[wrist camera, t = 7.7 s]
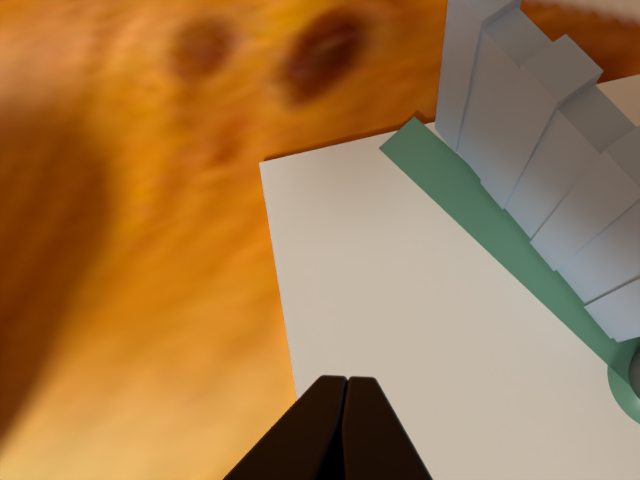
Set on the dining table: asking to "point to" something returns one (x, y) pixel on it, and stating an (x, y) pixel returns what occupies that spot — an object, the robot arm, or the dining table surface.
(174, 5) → the dining table surface
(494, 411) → the card
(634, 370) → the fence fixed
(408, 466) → the robot arm
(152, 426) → the dining table surface
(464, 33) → the fence panel
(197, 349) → the dining table surface
